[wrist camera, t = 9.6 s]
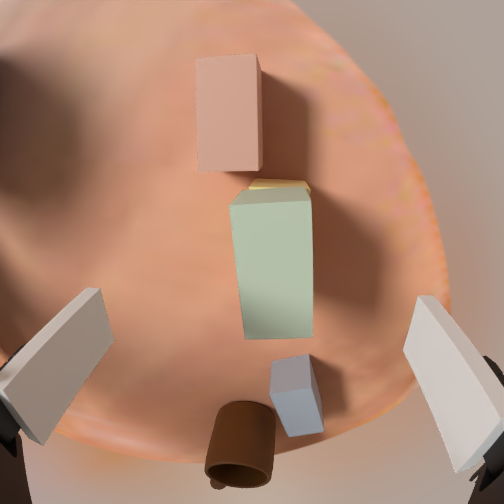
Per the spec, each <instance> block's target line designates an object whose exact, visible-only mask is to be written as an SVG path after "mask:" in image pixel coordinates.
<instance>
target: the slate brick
mask: <svg viewBox="0 0 504 504" xmlns="http://www.w3.org/2000/svg"><path fill="white" fill-rule="evenodd" d="M269 395H270V397H271V400H272V402H273V404H274V406H275V409H276V411H277V413H278V415H279V417H280V420H281V422H282V424H283V426H284V428H285V431H286V433H287V435H288V437H294V436H301V435H307V434H313V433H319V432H324V423H323V411H322V400H321V397H320V393H319V389H318V385H317V382H316V378H315V374H314V371H313V367H312V363H311V360H310V356H309V354H306V355H301V356H296V357H291V358H286V359H281V360H276V361H272V366H271V378H270V391H269Z"/></svg>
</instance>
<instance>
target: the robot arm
mask: <svg viewBox="0 0 504 504" xmlns="http://www.w3.org/2000/svg"><path fill="white" fill-rule="evenodd" d="M114 341H115V340H114V337H113V334H112V330H111V327H110V323H109V320H108V316H107V313H106V309H105V305H104V301H103V297H102V293H101V289H100V288H89V287H87V288H86V289H84V290H83V291H82V292H81V293H80V294H79V295H78V296H77V297H75V298H74V299H73V300H72V301H71V302H70V303H69V304H68V305H67V306H66V307H64V308H63V309H62V310H61V311H60V312H59V313H58V314H57V315H56V316H55V317H54V318H53V319H52V320H51V321H50V322H48V323H47V324H46V325H45V326H44V327H43V328H42V329H41V330H40V331H39V332H38V333H37V334H36V335H35V336H34V337H33V338H32V339H31V340H30V341H29V342H27V343H26V344H24V345H22V346H21V347H20V348H19V349H18V350H17V351H16V352H15V353H14V356H11V357H10V358H9V359H8V362H6V363H5V364H4V365H3V366H2V367H1V368H0V504H32V501H31V496H30V492H29V487H28V482H27V476H26V470H25V463H24V456H23V448H22V440H21V436H20V435H19V434H18V431H19V430H20V429H22V430H23V431H24V433H25V434H26V435H27V436H28V438H29V439H31V440H33V441H35V442H37V443H39V444H40V445H44V444H45V442H46V440H47V439H48V437H49V436H50V434H51V433H52V431H53V430H54V428H55V426H56V425H57V423H58V422H59V420H60V419H61V417H62V416H63V414H64V413H65V411H66V409H67V408H68V406H69V405H70V403H71V402H72V400H73V399H74V397H75V396H76V394H77V393H78V392H79V390H80V389H81V387H82V386H83V384H84V383H85V381H86V380H87V378H88V377H89V376H90V374H91V373H92V371H93V370H94V368H95V367H96V366H97V364H98V363H99V361H100V360H101V359H102V357H103V356H104V354H105V353H106V352H107V350H108V349H109V347H110V346H111V345H112V343H113V342H114ZM403 352H404V354H405V356H406V358H407V360H408V362H409V364H410V366H411V368H412V370H413V372H414V374H415V377H416V379H417V381H418V383H419V385H420V387H421V389H422V391H423V394H424V396H425V398H426V401H427V403H428V405H429V407H430V410H431V412H432V414H433V417H434V419H435V421H436V424H437V426H438V429H439V431H440V434H441V436H442V439H443V441H444V444H445V446H446V449H447V452H448V454H449V457H450V460H451V462H452V465H453V468H454V471H455V473H457V472H460V471H463V470H466V469H468V468H471V467H473V466H474V465H475V464H476V463H477V462H478V461H479V460H480V459H481V458H482V457H484V460H485V463H484V464H483V465H482V466H481V467H480V468H479V469H478V470H477V471H476V472H475V473H474V474H473V475H472V477H471V479H470V480H469V481H473V480H474V479H475V478H476V477H477V476H478V475H479V476H478V478H477V481H476V482H475V483H476V484H475V487H474V489H473V492H472V495H471V497H470V500H469V502H468V504H504V375H503V373H502V371H501V370H500V368H499V367H498V366H497V364H496V363H495V362H493V361H492V360H491V359H489V358H488V357H487V356H481V354H480V353H479V352H478V350H477V349H476V348H475V346H474V345H473V344H472V342H471V341H470V340H469V338H468V337H467V336H466V334H465V333H464V332H463V331H462V329H461V328H460V327H459V326H458V324H457V323H456V322H455V321H454V319H453V318H452V317H451V316H450V314H449V313H448V312H447V311H446V310H445V308H444V307H443V306H442V305H441V304H440V303H439V301H438V300H437V299H436V298H435V297H434V296H433V295H427V296H418V298H417V302H416V306H415V310H414V313H413V317H412V321H411V324H410V328H409V331H408V334H407V338H406V341H405V344H404V347H403Z"/></svg>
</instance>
